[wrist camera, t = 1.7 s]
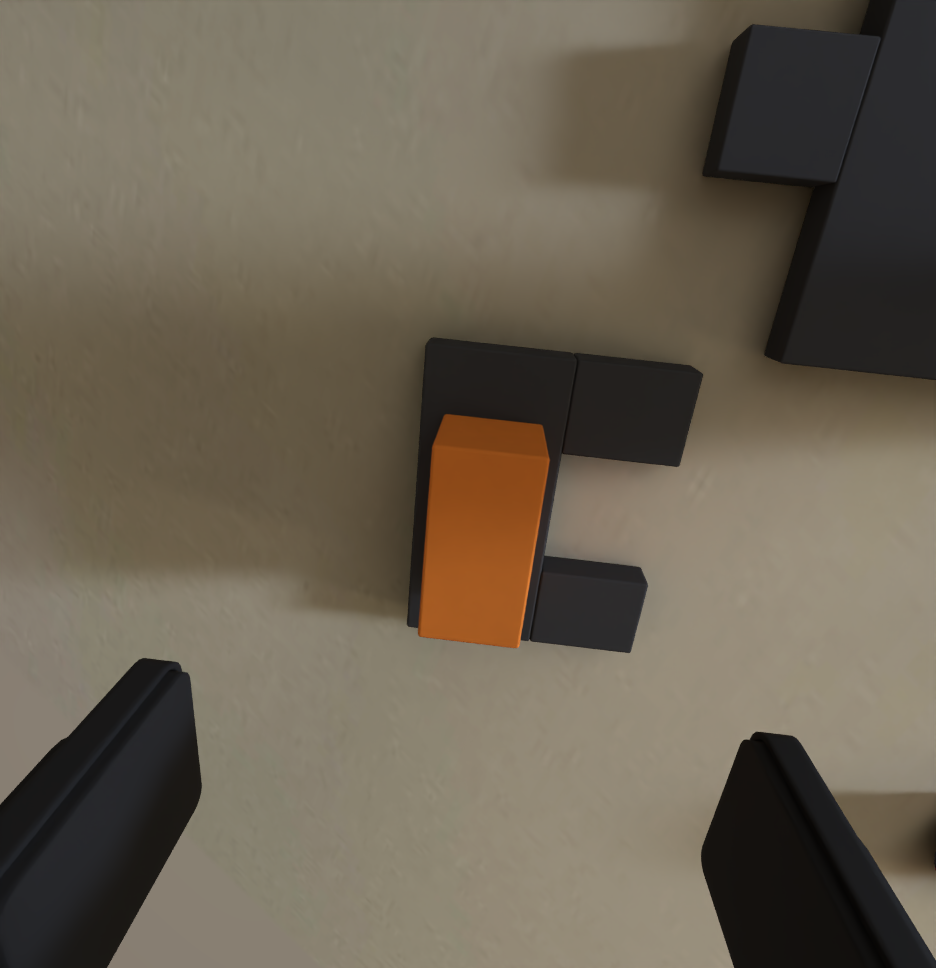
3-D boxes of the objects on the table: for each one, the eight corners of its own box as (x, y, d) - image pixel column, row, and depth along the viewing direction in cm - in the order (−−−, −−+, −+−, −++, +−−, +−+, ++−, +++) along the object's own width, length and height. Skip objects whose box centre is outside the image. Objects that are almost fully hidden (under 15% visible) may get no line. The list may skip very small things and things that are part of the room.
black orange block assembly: (430, 336, 17) (408, 362, 13) (691, 365, 17) (745, 399, 13) (411, 607, 21) (390, 687, 17) (624, 632, 21) (650, 719, 17)
